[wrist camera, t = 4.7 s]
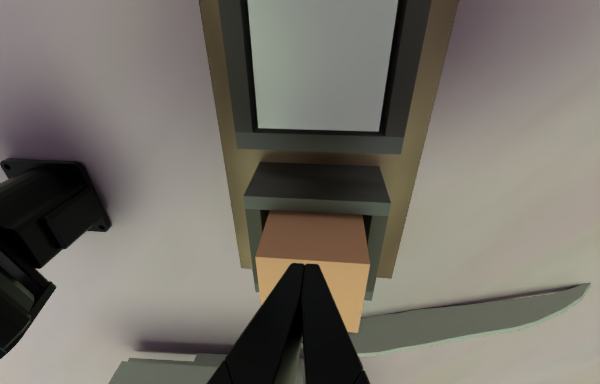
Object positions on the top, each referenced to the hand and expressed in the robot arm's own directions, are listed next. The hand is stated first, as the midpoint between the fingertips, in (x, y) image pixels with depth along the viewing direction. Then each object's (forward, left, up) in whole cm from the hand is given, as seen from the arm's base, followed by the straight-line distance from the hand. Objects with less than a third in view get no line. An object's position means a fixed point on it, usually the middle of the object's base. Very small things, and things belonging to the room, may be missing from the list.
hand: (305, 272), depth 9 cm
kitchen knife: (+9, -18, -12) cm, 23 cm away
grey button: (0, +5, -9) cm, 11 cm away
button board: (0, 0, -12) cm, 12 cm away
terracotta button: (0, -5, -7) cm, 8 cm away
